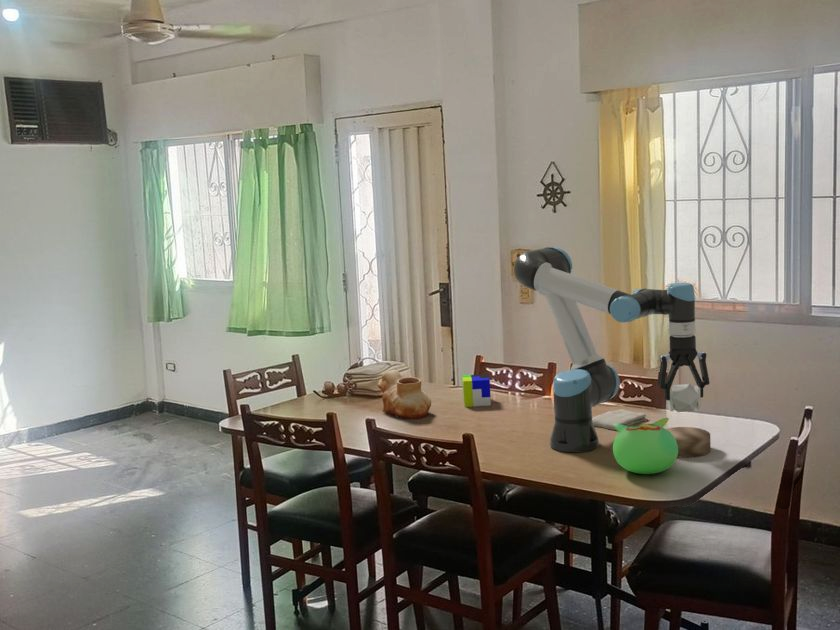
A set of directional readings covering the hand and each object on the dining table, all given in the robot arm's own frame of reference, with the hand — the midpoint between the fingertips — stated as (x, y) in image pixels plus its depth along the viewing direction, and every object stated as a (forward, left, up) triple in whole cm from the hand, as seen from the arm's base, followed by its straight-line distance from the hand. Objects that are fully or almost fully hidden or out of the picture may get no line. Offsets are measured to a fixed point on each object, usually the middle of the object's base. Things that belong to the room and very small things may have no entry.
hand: (684, 409), depth 275 cm
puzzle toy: (-54, +76, -13) cm, 94 cm away
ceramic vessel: (-82, +71, -13) cm, 110 cm away
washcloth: (-11, +35, -13) cm, 39 cm away
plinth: (0, 0, -13) cm, 13 cm away
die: (0, 0, 0) cm, 1 cm away
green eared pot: (-17, -16, -13) cm, 27 cm away
